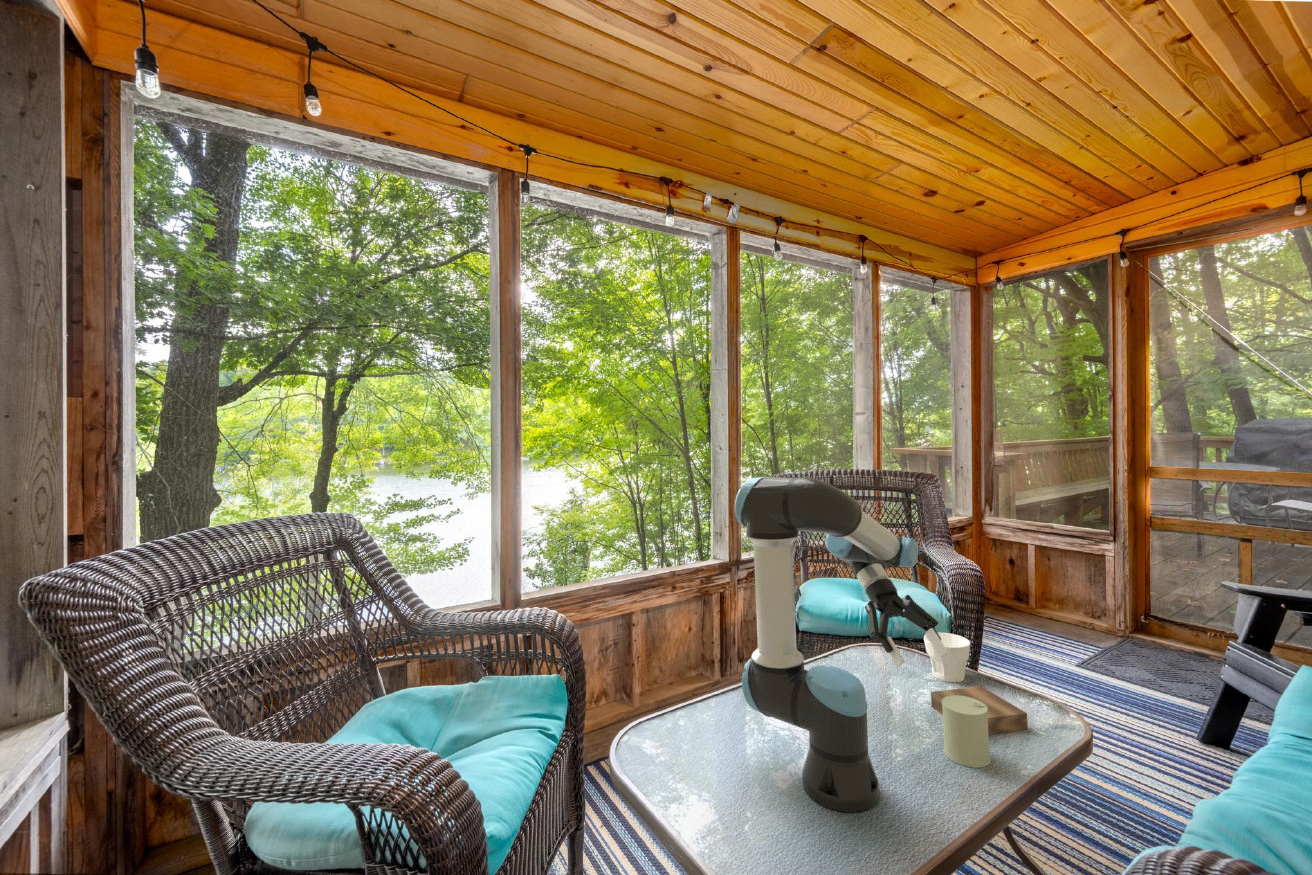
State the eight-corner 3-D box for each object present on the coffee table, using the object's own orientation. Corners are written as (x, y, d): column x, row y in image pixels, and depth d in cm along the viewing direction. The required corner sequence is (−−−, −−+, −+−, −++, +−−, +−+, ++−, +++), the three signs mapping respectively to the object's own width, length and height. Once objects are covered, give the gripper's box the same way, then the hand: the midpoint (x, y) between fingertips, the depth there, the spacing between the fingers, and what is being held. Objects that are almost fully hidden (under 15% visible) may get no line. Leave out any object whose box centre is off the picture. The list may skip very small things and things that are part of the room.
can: (997, 769, 116) (995, 713, 116) (951, 766, 118) (948, 711, 118) (981, 745, 125) (978, 693, 125) (938, 742, 127) (935, 691, 127)
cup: (922, 665, 169) (920, 630, 169) (967, 669, 165) (965, 633, 165) (928, 683, 157) (926, 645, 157) (976, 687, 153) (974, 648, 153)
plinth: (972, 736, 129) (971, 719, 129) (931, 706, 143) (930, 691, 144) (1027, 729, 131) (1026, 713, 131) (982, 700, 146) (981, 686, 146)
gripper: (906, 586, 154) (953, 657, 140) (833, 597, 146) (874, 674, 132) (920, 571, 149) (969, 644, 135) (845, 582, 141) (889, 661, 127)
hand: (922, 659), depth 133 cm, fingers open, 13 cm apart
